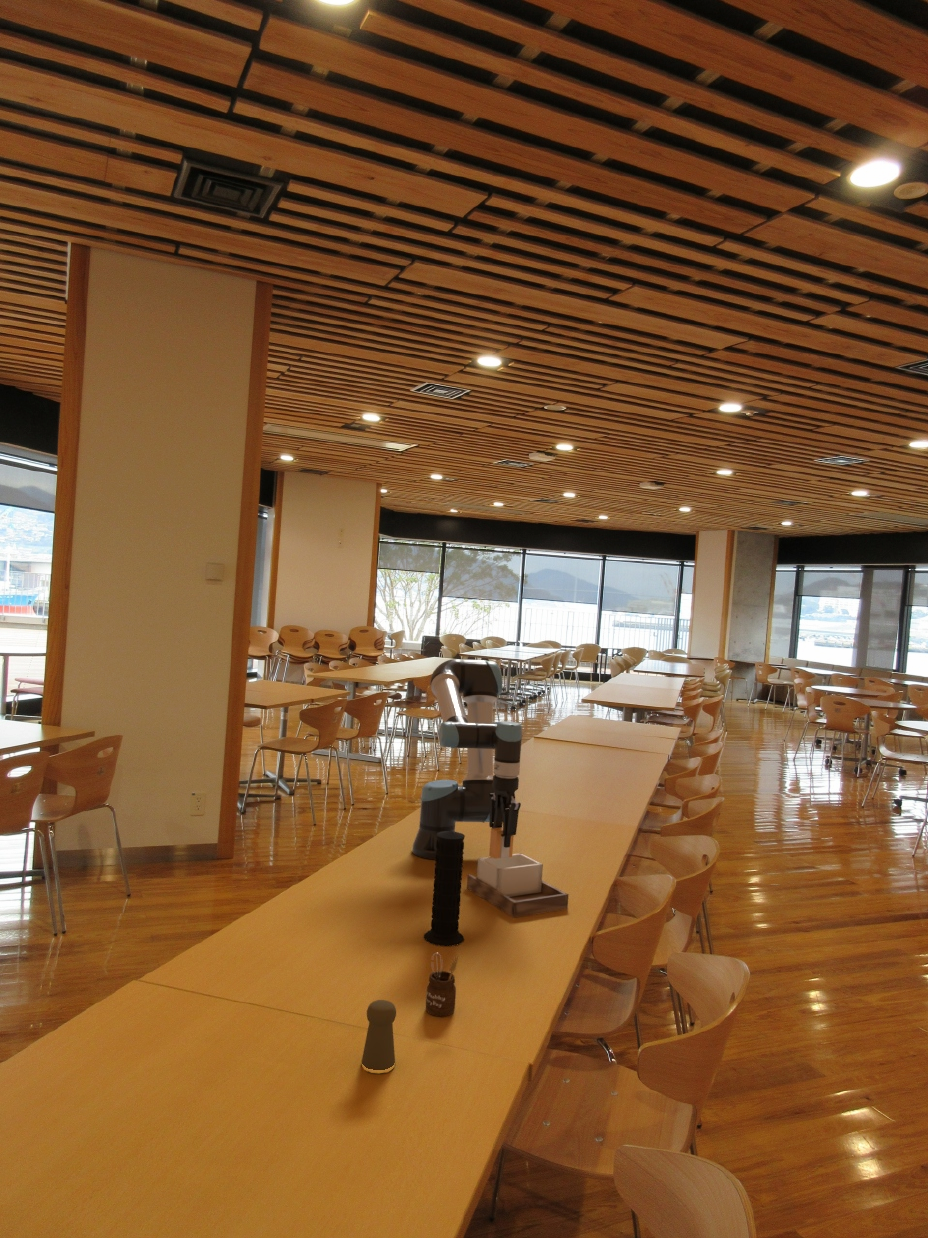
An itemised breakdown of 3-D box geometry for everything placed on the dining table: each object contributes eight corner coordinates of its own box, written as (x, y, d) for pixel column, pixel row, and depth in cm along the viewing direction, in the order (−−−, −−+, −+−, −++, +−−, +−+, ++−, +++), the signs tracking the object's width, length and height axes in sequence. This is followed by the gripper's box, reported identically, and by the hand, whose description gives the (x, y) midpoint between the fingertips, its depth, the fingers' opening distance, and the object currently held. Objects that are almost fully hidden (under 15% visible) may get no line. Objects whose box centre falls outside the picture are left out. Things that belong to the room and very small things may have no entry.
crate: (474, 884, 247) (477, 829, 247) (517, 879, 255) (520, 825, 255) (497, 898, 237) (500, 841, 237) (541, 892, 245) (544, 836, 244)
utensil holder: (438, 1000, 178) (442, 943, 178) (461, 1011, 174) (465, 952, 174) (419, 1010, 173) (422, 951, 173) (442, 1021, 169) (446, 961, 169)
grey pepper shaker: (361, 1055, 155) (365, 995, 155) (395, 1056, 155) (399, 996, 155) (360, 1074, 149) (364, 1011, 149) (395, 1074, 149) (399, 1012, 149)
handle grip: (419, 943, 207) (459, 949, 205) (426, 833, 206) (467, 838, 204) (429, 927, 217) (468, 933, 215) (435, 823, 216) (475, 828, 214)
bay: (466, 888, 248) (467, 874, 248) (518, 881, 257) (518, 868, 257) (513, 917, 227) (514, 902, 227) (567, 909, 237) (568, 894, 237)
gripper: (480, 770, 254) (475, 849, 255) (511, 782, 240) (505, 865, 241) (501, 769, 258) (496, 847, 259) (532, 780, 244) (527, 862, 245)
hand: (500, 855), depth 250 cm, fingers closed on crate, 3 cm apart
